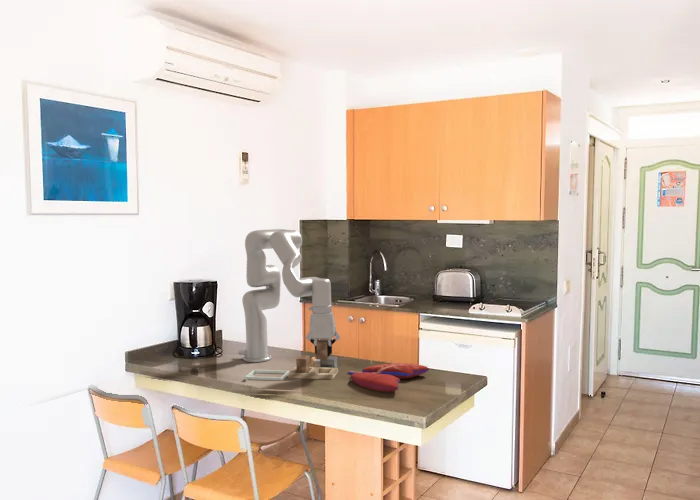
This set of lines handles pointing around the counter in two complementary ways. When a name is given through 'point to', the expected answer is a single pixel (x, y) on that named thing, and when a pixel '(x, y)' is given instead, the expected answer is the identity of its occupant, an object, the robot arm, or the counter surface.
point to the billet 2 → (322, 349)
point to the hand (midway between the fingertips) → (323, 354)
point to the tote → (250, 376)
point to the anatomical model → (386, 375)
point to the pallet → (315, 373)
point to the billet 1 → (303, 364)
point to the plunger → (314, 361)
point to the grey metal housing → (329, 362)
